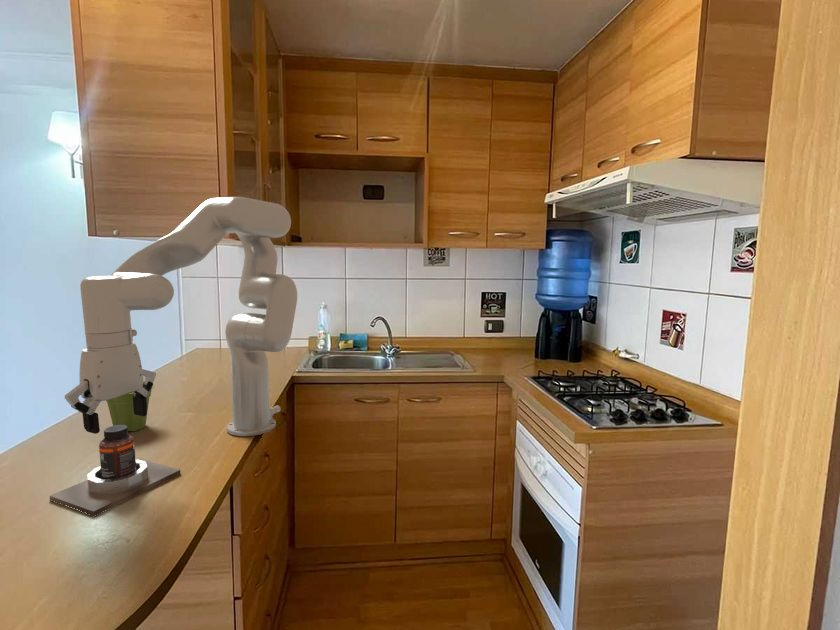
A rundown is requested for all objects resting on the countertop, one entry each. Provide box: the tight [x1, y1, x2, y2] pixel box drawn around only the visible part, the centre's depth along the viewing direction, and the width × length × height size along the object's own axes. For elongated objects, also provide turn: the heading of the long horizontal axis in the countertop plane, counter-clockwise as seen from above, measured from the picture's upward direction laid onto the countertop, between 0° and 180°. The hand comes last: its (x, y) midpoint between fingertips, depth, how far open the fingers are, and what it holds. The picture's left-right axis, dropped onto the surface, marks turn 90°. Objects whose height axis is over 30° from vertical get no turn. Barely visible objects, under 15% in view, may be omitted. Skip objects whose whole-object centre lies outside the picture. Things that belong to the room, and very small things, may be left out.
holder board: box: [49, 458, 181, 517], centre depth 94 cm, size 18×13×1 cm
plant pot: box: [105, 384, 155, 432], centre depth 124 cm, size 12×12×11 cm
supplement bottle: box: [98, 425, 136, 479], centre depth 93 cm, size 6×6×11 cm
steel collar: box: [86, 458, 148, 495], centre depth 94 cm, size 10×10×2 cm
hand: (117, 423), depth 93 cm, fingers open, 9 cm apart
